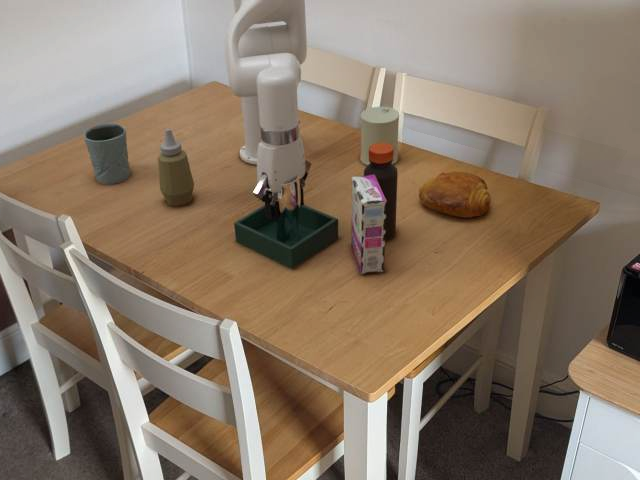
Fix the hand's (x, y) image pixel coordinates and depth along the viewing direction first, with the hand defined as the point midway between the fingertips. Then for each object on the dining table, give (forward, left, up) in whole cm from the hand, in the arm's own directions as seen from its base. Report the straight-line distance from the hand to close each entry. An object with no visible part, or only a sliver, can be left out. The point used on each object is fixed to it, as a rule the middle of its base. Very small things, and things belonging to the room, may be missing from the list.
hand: (285, 210), depth 167 cm
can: (-41, -7, -7) cm, 42 cm away
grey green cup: (+5, -55, -7) cm, 56 cm away
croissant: (-34, +20, -7) cm, 40 cm away
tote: (0, 0, -7) cm, 7 cm away
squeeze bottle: (+3, -32, -7) cm, 33 cm away
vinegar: (-14, +14, -7) cm, 21 cm away
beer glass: (0, 0, -7) cm, 7 cm away
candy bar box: (-5, +18, -7) cm, 20 cm away
